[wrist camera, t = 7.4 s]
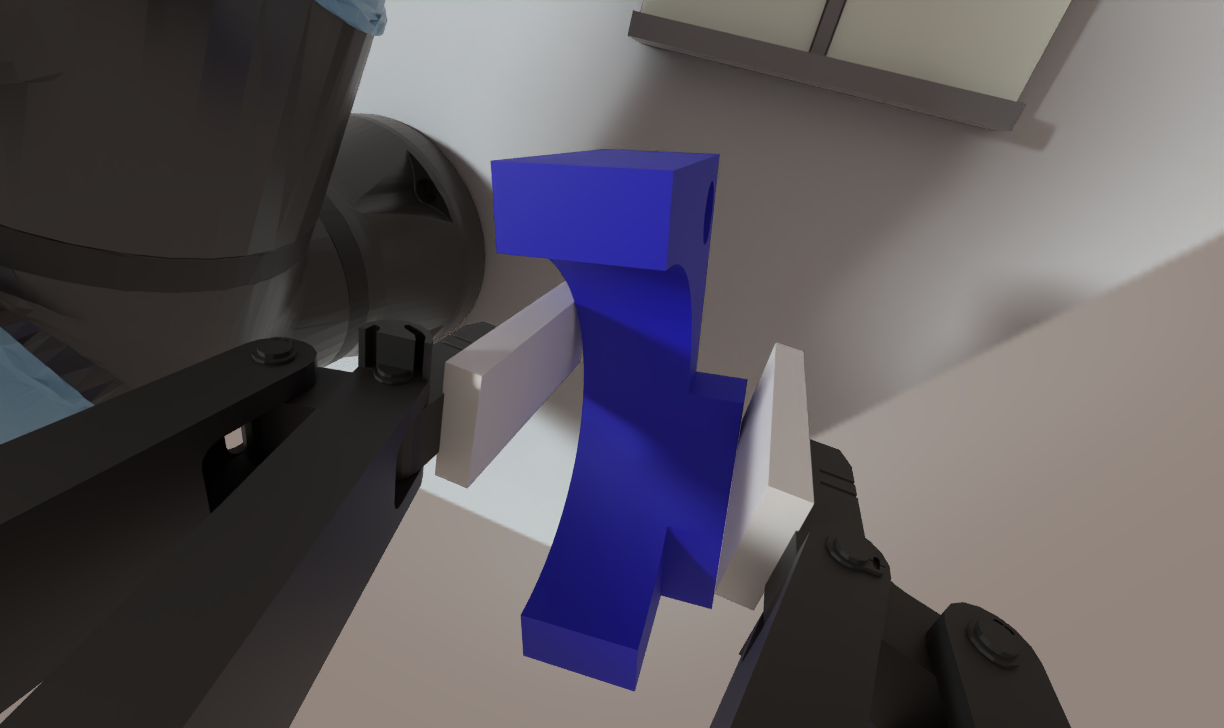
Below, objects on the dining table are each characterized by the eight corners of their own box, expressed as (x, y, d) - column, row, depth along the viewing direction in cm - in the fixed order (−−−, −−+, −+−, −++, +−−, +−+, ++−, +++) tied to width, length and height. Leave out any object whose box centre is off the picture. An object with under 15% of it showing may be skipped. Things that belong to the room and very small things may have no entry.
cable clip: (722, 537, 17) (695, 711, 12) (597, 508, 19) (523, 655, 13) (782, 156, 12) (779, 175, 7) (604, 149, 14) (490, 160, 8)
